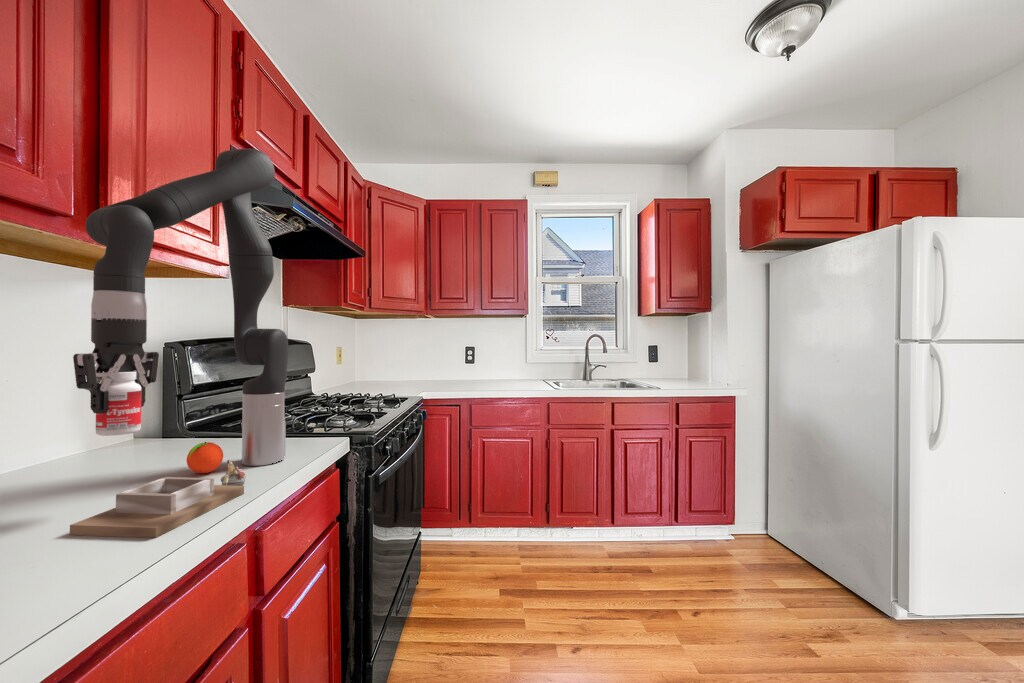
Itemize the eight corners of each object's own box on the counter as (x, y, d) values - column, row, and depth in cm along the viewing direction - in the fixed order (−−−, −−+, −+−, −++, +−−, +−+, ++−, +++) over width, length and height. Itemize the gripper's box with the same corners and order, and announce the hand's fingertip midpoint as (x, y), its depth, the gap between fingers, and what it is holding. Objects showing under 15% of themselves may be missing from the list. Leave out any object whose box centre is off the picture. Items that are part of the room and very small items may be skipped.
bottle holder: (176, 491, 88) (176, 468, 88) (244, 493, 87) (244, 470, 87) (69, 534, 68) (70, 505, 68) (155, 537, 67) (156, 508, 67)
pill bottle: (103, 438, 76) (103, 373, 76) (89, 434, 79) (90, 372, 79) (147, 431, 81) (147, 371, 81) (133, 428, 84) (133, 370, 84)
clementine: (203, 479, 96) (203, 446, 96) (174, 478, 96) (174, 445, 97) (230, 469, 104) (230, 439, 104) (203, 468, 104) (203, 438, 104)
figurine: (232, 480, 95) (231, 453, 94) (252, 481, 94) (251, 455, 93) (214, 492, 89) (212, 464, 89) (235, 493, 89) (233, 465, 88)
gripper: (137, 319, 87) (137, 404, 87) (56, 315, 73) (56, 416, 73) (172, 319, 87) (172, 404, 87) (98, 315, 73) (97, 417, 73)
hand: (119, 409), depth 80 cm, fingers closed on pill bottle, 6 cm apart
